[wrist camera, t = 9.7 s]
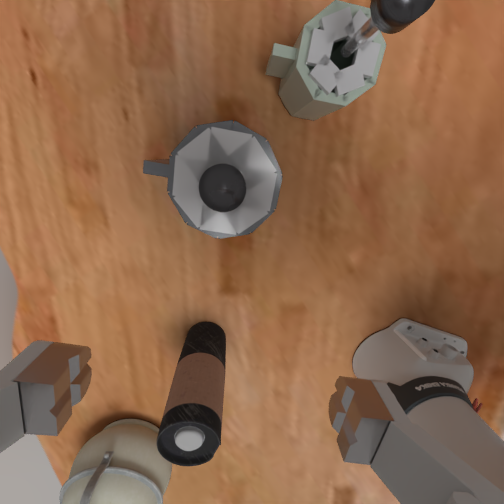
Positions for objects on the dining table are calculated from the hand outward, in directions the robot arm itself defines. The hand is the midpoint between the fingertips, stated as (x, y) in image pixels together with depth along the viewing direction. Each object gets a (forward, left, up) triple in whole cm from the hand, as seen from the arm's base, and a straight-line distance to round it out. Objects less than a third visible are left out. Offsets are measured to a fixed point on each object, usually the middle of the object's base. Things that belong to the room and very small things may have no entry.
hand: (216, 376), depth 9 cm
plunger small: (-8, -17, -22) cm, 29 cm away
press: (+3, -4, -36) cm, 36 cm away
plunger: (+1, -4, -27) cm, 28 cm away
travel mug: (+1, +26, -36) cm, 44 cm away
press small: (-7, -17, -36) cm, 40 cm away
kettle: (+13, +56, -36) cm, 68 cm away
